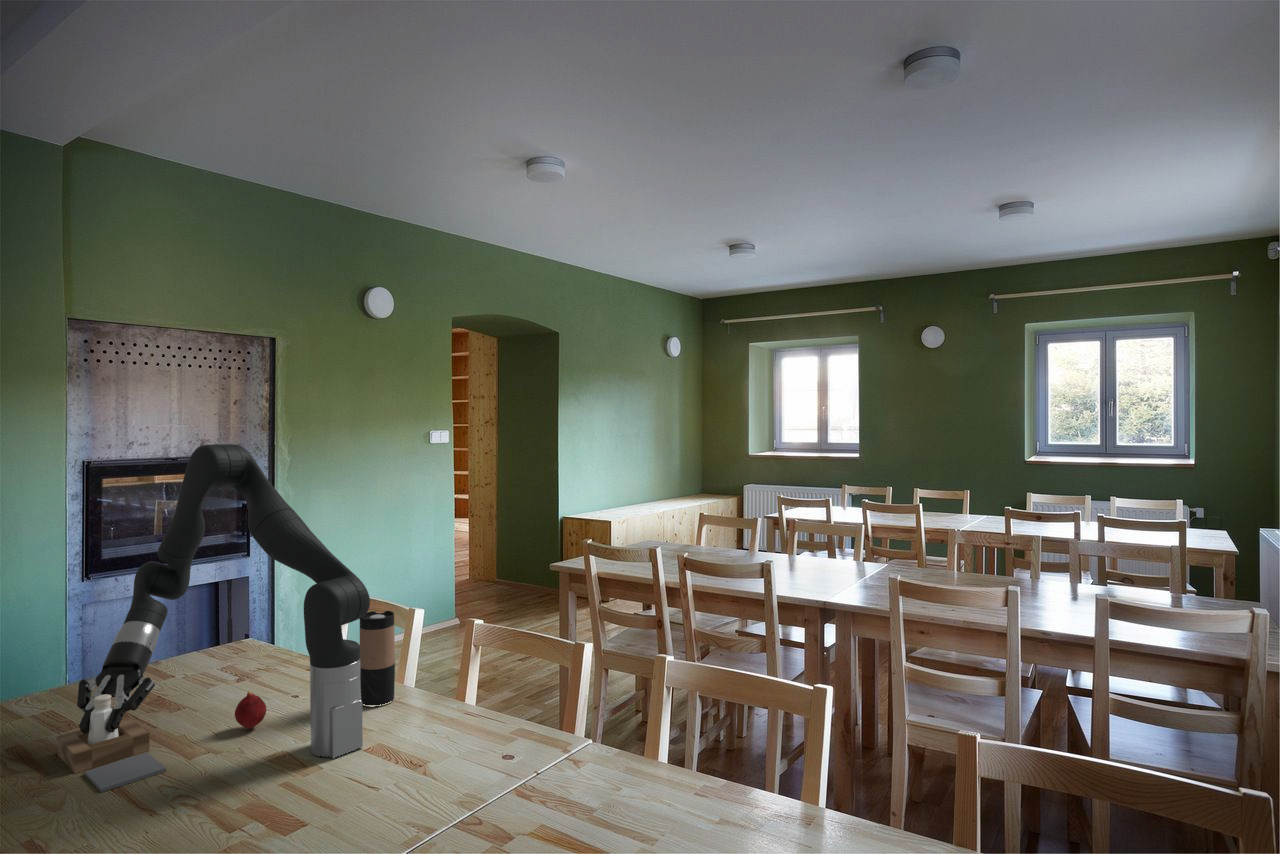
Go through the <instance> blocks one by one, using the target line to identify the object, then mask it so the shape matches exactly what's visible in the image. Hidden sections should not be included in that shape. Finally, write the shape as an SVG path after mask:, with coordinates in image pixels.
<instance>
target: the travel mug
mask: <svg viewBox="0 0 1280 854" xmlns="http://www.w3.org/2000/svg"><path fill="white" fill-rule="evenodd" d="M395 640H396V639H395V613H394V612H393V611H391V610H385V611H384V612H376V611H375V610H374V611H373V610H372V611H368V612H367V613H366V614H365V615H364V616H363V617H362V618H360V619H359V645H360V684H361V701H362V704H365V705H380V704H381V705H382V704H385V703H388V702H390V701H392V700H393V699H394V700H395V682H396V681H395V680H396V679H395V678H396V677H395V676H396V650H395V648H396V646H395V645H396V644H395Z"/></svg>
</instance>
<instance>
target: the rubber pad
mask: <svg viewBox="0 0 1280 854" xmlns="http://www.w3.org/2000/svg"><path fill="white" fill-rule="evenodd" d="M165 772H167V767H166V766H164V765H163V764H162V763H161V762H160V761H158V760H157V759H156V758H155V757H153V756H152V755H151V754H150V753H148V752H143V753H140V754H137V755H134V756H130V757H127V758H124V759H120V760H117V761H114V762H111V763H107V764H104V765H101V766H98V767H94V768H91V769H88V770H84V771H83V773H84V776H85V777H86V778H87V779H88V781H90V783H91V784H93V785H94V786H95V787H96V789H97V790H99V792H100V793H104V792H106V791H110V790H113V789H116V788H119V787H122V786H126V785H127V784H131V783H134V782H137V781H141V780H143V779H146V778H150V777H153V776H156V775H159V774H162V773H165Z"/></svg>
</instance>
